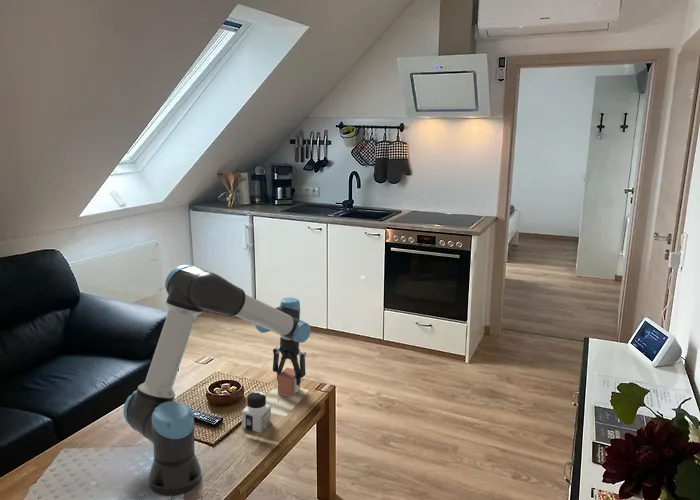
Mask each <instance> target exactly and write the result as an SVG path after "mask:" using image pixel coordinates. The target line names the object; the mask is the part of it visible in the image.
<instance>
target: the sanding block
mask: <svg viewBox="0 0 700 500" xmlns="http://www.w3.org/2000/svg"><path fill="white" fill-rule="evenodd" d="M295 377H296V375H295V371H294V368H290V367H286V368H285V369H284V370H283V371H282V373H281V374H280V375H278V381H277V384H278V394H279V395H284V396H288V397H292V396H293V395H294V394H295V393H294V378H295ZM300 388H301V384H300V385H299V389H300Z"/></svg>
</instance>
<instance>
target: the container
mask: <svg viewBox="0 0 700 500" xmlns="http://www.w3.org/2000/svg"><path fill="white" fill-rule="evenodd" d="M266 395H267V394H265V393H264V392H262V391H252V392H250V393H249V394H248V395H247V399H246V403H247V404H246V407H244V409H243V410H242V411H241V429H245V430H247V431H248V430H249V431H253V432H257V433H263V431H264V430H265V429H266V428H267V427H268V426H269V424H271V422H272V421H271V420H272V419H271V418H272V413H271V405H267V404H266Z"/></svg>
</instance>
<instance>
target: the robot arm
mask: <svg viewBox="0 0 700 500" xmlns="http://www.w3.org/2000/svg"><path fill="white" fill-rule="evenodd" d="M164 287H165V288H164V289H165V290H166V292H167V294H168V296H167V298H166V302H165V304H166V305H167V308H168V311H167V314H166V317H165V321H164V323H163V326H162V330H161V332H160V336H159V338H158V341H157V343H156V347H155V350H154V353H153V355H152V360H151V362H150V365H149V368H148V372H147V374H146V378H145V381H144V382H143V383H141V384H139V385H138V386H137V389H136V390H135V391H133V392H132V394H131V395H130V394H129V396H128V397H127V399H126V400H125V402H124V405H123V411H122V412H123V417H124V420H125V421H126V423H127V424H128V425H129V426H130V428H132V429H133V430H135V431H137V433H139V434H141V436H143V437H144V438H146V439H147V440H148V441H149V442H151V443H152V445H153V446H152V447H153V462H152V465H151V468H150V472H149V475H148V483H149V484H148V486H149V488H150V489H151V491H152V492H154V493H155V494H157V495H161V496H177V495H181V494H185V493H187V492H189V491H191V490H192V489H194V488H195V487H196V486H197V485H199V482H200V481H201V478H202V469H201V465H200V463H199V461H198V457H197V456H196V454H195V419H194V413H193V410H192V408H191V407H190V406H189V405H188V404H186V403H184V402H181V401H178V402H177V401H176V400H175V397H176V392H175V390H174V389H173V388H174V384H175V381H176V379H177V376H178V375H177V374H178V372H179V369H180V365H181V363H182V360H183V356H184V354H185V350H186V348H187V344H188V342H189V339H190V335H191V332H192V329H193V326H194V323H195V320H196V317H197V316H199V315H200V314H202V313H203V312H204V310H205V311H208V312H212V313H217V314H221V315H224V316H226V317H229V318H234V317H237V318H239V319H241V320H244V321H246V322H249V323H251V324H253V325H254V326H255V329H256V330H257V331H258V332H260V333H263V334H264V333H265V334H266V333H269V332H273V333H276V334H277V335H279V336H280V337H279V347H278V346H276V347H275V348H273V349H272V353H273V361H272V362H273V363H272V372H273V373H276V380H277V382H278V375H280V374H281V373H282V372H283V371H284V370H283V369H284V366H285V363H286V360H290V362H291V364H292V366H293V369H294V371H295V375H296V377H295V378H294V393H296V392H297V391H298V390H299V385H300V386H301V384H302V383H301V382H302V380H301V378H304V377H305V376H306V357H307V356H306V355H307V352H305V351H304V352H303V351H301V350H300V348H299V347H300V344H302V343H305V342H306V341H308V339H309V338H310V335H311V331H312V329H311V325H310V324H309V323H308V322H305V320H301V319H300V317H301V303H300V300H299V299H298V298H297V297H296V298H295V297H289V296H288V297H284V298H282V299H280V303H279V304H280V305H279V306H278V307H273V306H271V305H270V304H267V303H264V302H262V301H260V300H258V299H257V298H254V297H253V296H250V295H249V294H246V292H245V290H244V289H243V288H241V287H239V286H237V285H235V284H233V283H232V282H230V281H229V280H227V279H226V278H224V277H223V276H220V275H219V274H217V273H214V272H211V271H209V270H206V269H204V268H201V267H198V266H196V265H192V264H182V265H179V266H176V267H175V268H173V269H172V270H171V271H170V272H169V273H168V274H167V277H166V278H165V282H164ZM280 354H281V358H280ZM298 357H299V361H298ZM279 361H280V362H279Z"/></svg>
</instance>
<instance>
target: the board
mask: <svg viewBox="0 0 700 500" xmlns="http://www.w3.org/2000/svg"><path fill="white" fill-rule="evenodd" d="M309 391H310V389H307V388H302V387H300V389H299V390H298V391H297V392H296V393H295V394H294V395H293V396H292V397H288V396H284V395H279V394H278V383H277V384H276V385H275V386H274V387H273V388H272V389H271V390H270V391H269V392H268V393H267V394H265V395H266V404H267V405H271V415H277V416H280V417H285V418H286V417H287V416H288V415H289V414H290V412H292V410H293V409H294V408H295V407H296V406H297V405H298V404H299V402H300V401H301V400H302V399H304V398H305V396H306V394H308V392H309Z"/></svg>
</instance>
